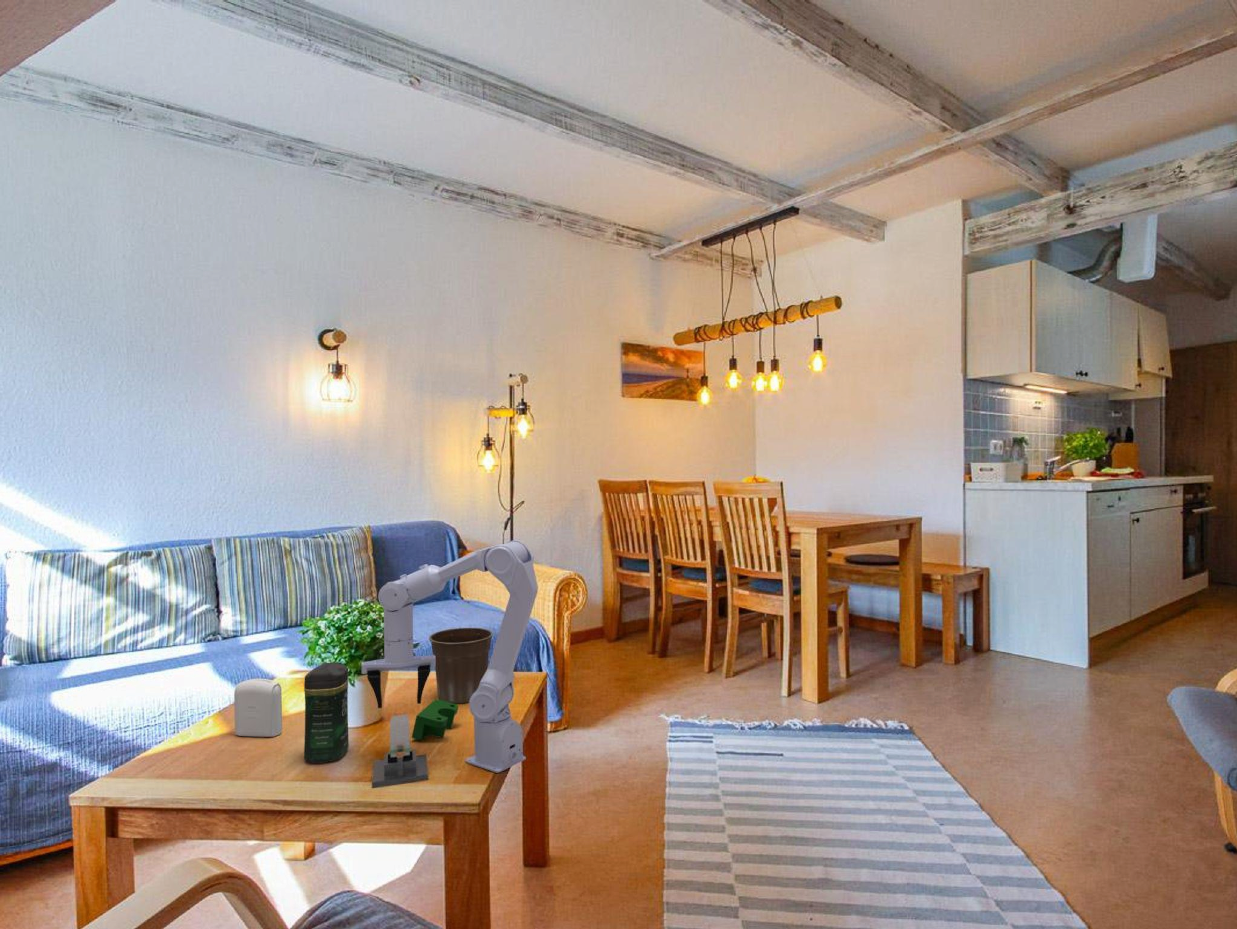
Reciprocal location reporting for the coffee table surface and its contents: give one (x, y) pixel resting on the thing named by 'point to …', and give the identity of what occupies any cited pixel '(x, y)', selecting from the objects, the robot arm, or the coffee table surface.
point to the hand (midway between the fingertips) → (399, 704)
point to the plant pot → (460, 661)
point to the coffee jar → (326, 712)
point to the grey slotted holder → (400, 769)
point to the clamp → (434, 719)
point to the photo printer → (258, 708)
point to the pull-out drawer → (399, 735)
